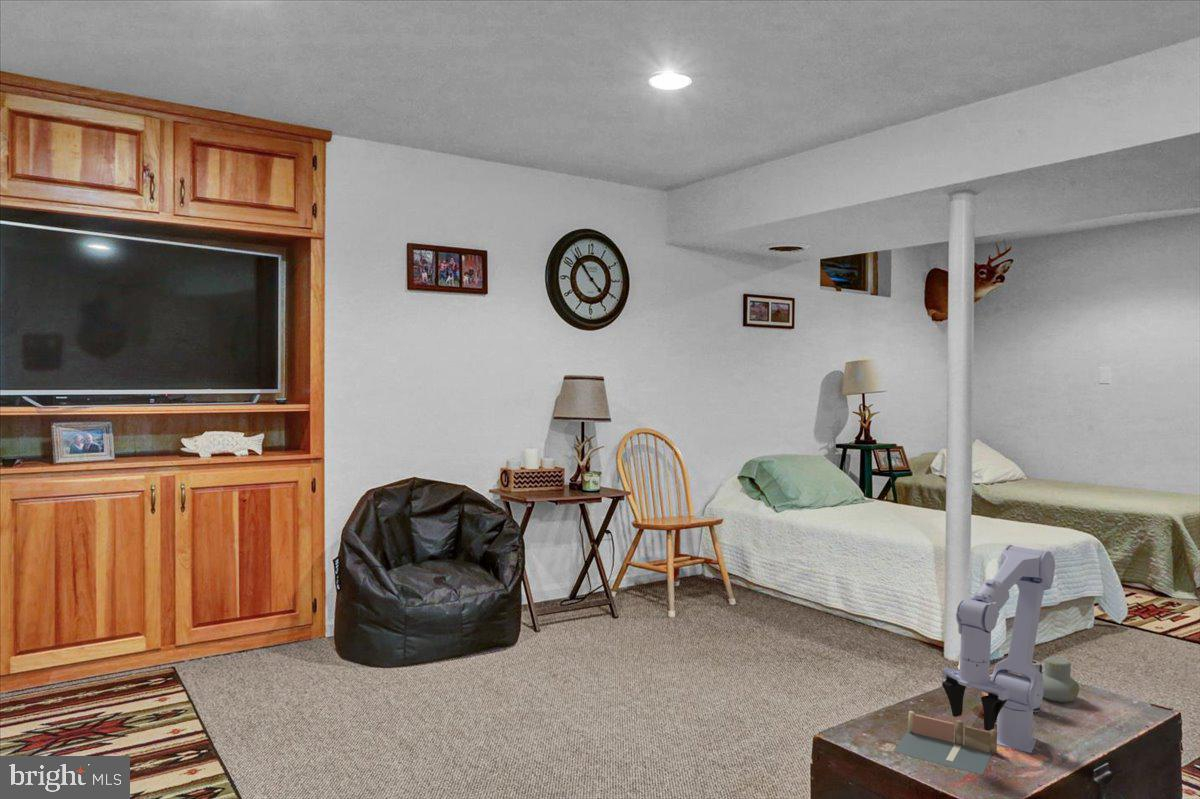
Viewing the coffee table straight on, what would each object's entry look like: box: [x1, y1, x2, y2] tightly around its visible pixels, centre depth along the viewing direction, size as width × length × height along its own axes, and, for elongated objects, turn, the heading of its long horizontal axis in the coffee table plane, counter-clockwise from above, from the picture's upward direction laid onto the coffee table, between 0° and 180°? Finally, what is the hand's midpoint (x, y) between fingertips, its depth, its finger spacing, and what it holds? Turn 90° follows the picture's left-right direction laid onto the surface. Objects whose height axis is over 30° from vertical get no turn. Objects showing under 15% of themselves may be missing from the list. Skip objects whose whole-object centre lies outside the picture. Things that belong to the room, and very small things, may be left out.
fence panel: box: [907, 710, 955, 742], centre depth 192 cm, size 10×1×4 cm, turn 56°
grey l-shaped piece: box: [1042, 656, 1080, 703], centre depth 219 cm, size 11×8×10 cm
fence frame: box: [954, 719, 998, 755], centre depth 186 cm, size 2×8×5 cm, turn 57°
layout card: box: [892, 730, 993, 776], centre depth 185 cm, size 15×18×1 cm
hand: (972, 722), depth 177 cm, fingers open, 7 cm apart
